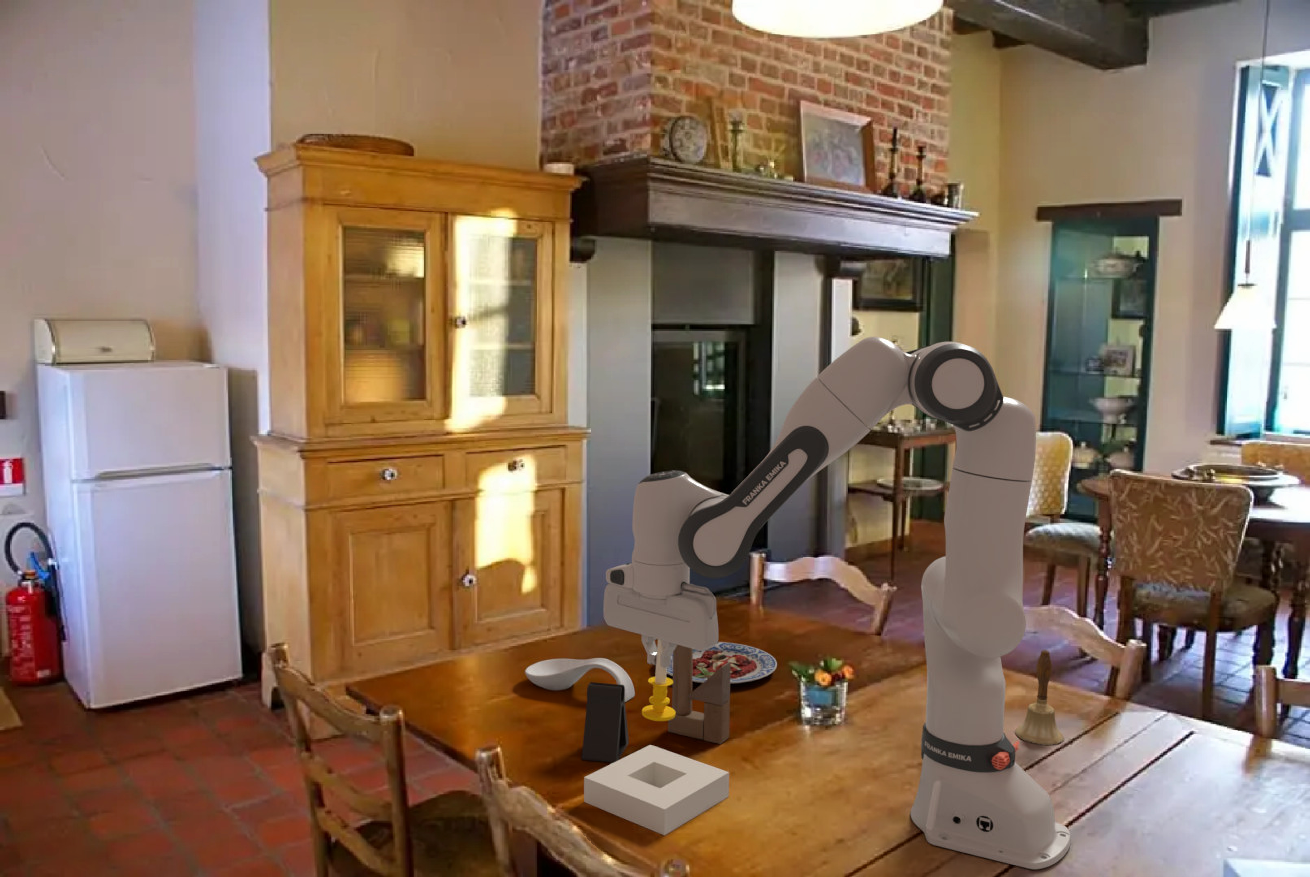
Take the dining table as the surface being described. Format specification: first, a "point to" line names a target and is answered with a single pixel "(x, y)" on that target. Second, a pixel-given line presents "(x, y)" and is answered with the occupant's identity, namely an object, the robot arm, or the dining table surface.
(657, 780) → the hole board
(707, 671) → the ceramic plate
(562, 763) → the dining table surface
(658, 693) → the candle
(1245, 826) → the dining table surface
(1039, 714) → the hand bell
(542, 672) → the spoon rest
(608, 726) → the phone stand
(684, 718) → the wooden block
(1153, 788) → the dining table surface
